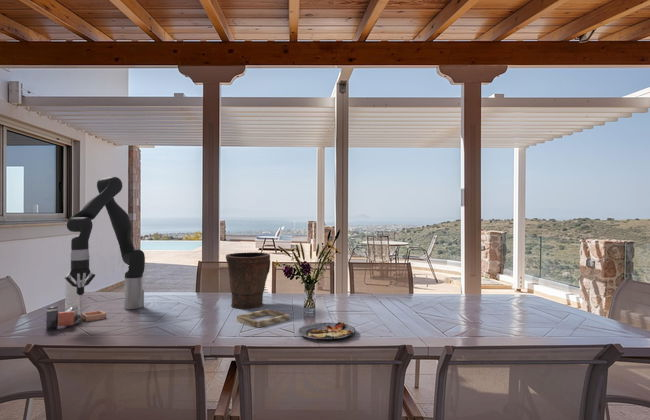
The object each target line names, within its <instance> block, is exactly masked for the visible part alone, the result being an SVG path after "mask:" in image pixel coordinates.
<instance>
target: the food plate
mask: <svg viewBox="0 0 650 420" xmlns="http://www.w3.org/2000/svg"><path fill="white" fill-rule="evenodd" d="M355 333H356V328H355V327H354V326H352V325H349V324H347V323H345V322H341V321H338V322H315V323H310V324H309V323H308V324H306V325H304V326H303V325H302V326H301V327H300V328H298V334H299V335H301V336H302V337H306V338H308V339H315V340H317V339H318V340H333V339H345V338H348V337H350V336H353V335H354V334H355Z"/></svg>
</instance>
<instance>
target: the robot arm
mask: <svg viewBox="0 0 650 420" xmlns="http://www.w3.org/2000/svg"><path fill="white" fill-rule="evenodd" d="M96 189H97V192H98V194H97V195H95V196H94V197H92V198H91V199H90V200H89V201H87V203H86V204H85V205H84V206H83V207H82V209H81V210H79V211H78V212H76V213H75V214H73V215H72V216H71V217H69V218H68V220H67V222H66V227H67V228H66V229H67V230H68V232H72V233H79V235H78V236H75V237H73V238H71V240H70V242H71V243H70V247H71V248H70V249H71V251H70V268H71V271H70V270H69V272H70V274H69V275H68V276H67V275H66V276H67V277H66V276H65V277H64V280H65V279H66V280H67V281H68V282H69V283H70V284H71V285H72V286H73V287H76V288H77V294H78V295H80V296H83V294H84V293H85V287H86V286H88V285H89V284H91V282H92V280H94V278H95V276H96V274H95V273H93V272H91V270H90V251H89V248H90V247H89V242H90V241H89V240H90V236H91V233H92V229H93V226H94V225H93V222H92V220H94V219H96V217H97V216H98V215H99V213H100V212H101V210H102V209H104V207H105V209H106V212H107V214H108V217H109V220H110V223H111V226H112V228H113V230H114V231H113V232H114V233H115V237H116V240H117V242H118V246H119V252H120V255H121V259H122V261H123V263H124V264H126V265H128V270H127V271H126V272H125V273H124V300H123V301H124V305H123V306H124V309H125V310H136V309H141V308H143V307H144V306H145V291H144V289H143V287H144V286H143V285H144V284H143V283H144V282H143V281H144V279H143V277H144V271H145V267H146V256H145V252H144V251H143V250H141V249H139V248H137V249H136V248H135V246H134V244H133V241H132V230H133V228H132V223H131V220H130V217H129V214H128V213H127V211H125V209H123V208H122V206H120V205H119V204H118V202H116V200H115V197H116V196H117V195H118V194H119V193H120V192H121V191H122V190H123V181H122V179H120V178H119V177H117V176H109V177H103V178H100V179H98V180H97V182H96ZM71 276H72V277H73V279H74V280H75V282H76V284H75V283H74V282H73V281H72V280H71V279H72V278H71ZM66 280H65V281H66Z"/></svg>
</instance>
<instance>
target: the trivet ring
mask: <svg viewBox="0 0 650 420" xmlns="http://www.w3.org/2000/svg"><path fill="white" fill-rule="evenodd" d="M267 315H268V316H272V317H270V318H265V319H261V320H256V318H259V317H263V316H267ZM254 318H255V319H254ZM289 320H290V314H289V313H287V312H283V311H279V310H274V309H272V308H271V309H268V308H265V309H262V310H257V311H251V312H248V313H243V314H238V315H236V321H237V322H238V323H240V324H243V325H247V326H250V327H253V328H262V327H266V326H270V325H274V324H277V323H281V322H286V321H289Z"/></svg>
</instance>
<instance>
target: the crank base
mask: <svg viewBox="0 0 650 420" xmlns="http://www.w3.org/2000/svg"><path fill="white" fill-rule="evenodd" d="M83 321H84V320H83V319H81V318H78V320H76V321H74V325H78V324H81V323H83Z"/></svg>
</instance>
